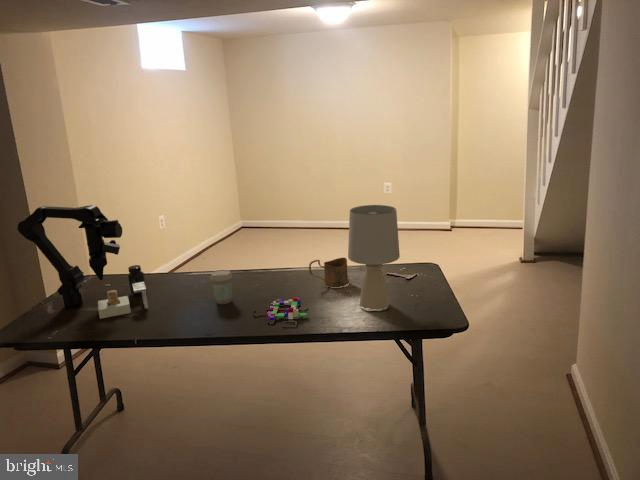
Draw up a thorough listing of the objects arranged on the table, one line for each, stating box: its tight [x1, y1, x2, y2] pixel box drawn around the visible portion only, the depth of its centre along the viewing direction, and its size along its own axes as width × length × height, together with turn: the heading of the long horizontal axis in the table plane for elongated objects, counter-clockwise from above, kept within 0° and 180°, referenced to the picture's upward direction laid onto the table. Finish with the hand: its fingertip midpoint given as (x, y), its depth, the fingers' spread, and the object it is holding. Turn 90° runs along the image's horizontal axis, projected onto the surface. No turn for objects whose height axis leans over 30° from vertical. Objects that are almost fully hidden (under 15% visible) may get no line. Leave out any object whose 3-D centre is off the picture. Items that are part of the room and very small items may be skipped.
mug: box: [308, 257, 350, 287], centre depth 213 cm, size 12×18×12 cm, turn 115°
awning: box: [132, 282, 149, 310], centre depth 200 cm, size 4×9×8 cm, turn 24°
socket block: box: [97, 295, 132, 320], centre depth 197 cm, size 11×10×4 cm
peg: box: [106, 289, 119, 306], centre depth 197 cm, size 4×4×8 cm
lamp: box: [347, 204, 401, 309], centre depth 185 cm, size 19×19×37 cm
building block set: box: [267, 297, 308, 320], centre depth 188 cm, size 25×20×4 cm
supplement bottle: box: [126, 264, 148, 297], centre depth 213 cm, size 7×7×12 cm
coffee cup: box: [210, 269, 233, 305], centre depth 200 cm, size 8×8×12 cm
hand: (101, 276), depth 201 cm, fingers open, 9 cm apart
